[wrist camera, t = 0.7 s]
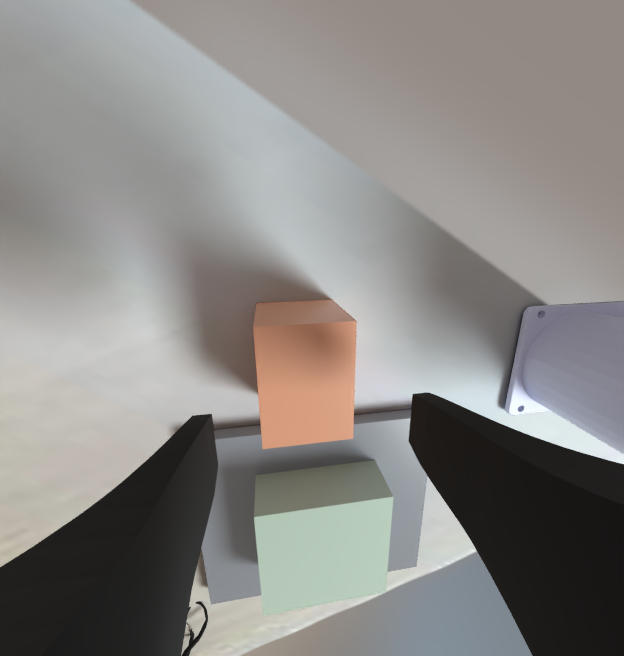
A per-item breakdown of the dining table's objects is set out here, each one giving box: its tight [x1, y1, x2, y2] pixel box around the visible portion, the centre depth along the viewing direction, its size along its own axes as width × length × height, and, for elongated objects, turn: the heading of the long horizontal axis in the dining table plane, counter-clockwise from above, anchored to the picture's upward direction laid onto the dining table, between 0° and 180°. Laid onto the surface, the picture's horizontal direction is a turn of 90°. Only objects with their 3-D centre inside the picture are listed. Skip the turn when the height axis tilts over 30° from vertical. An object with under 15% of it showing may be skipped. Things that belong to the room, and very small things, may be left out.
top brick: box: [253, 300, 357, 449], centre depth 16 cm, size 4×6×5 cm
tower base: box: [201, 409, 427, 616], centre depth 19 cm, size 16×14×4 cm
